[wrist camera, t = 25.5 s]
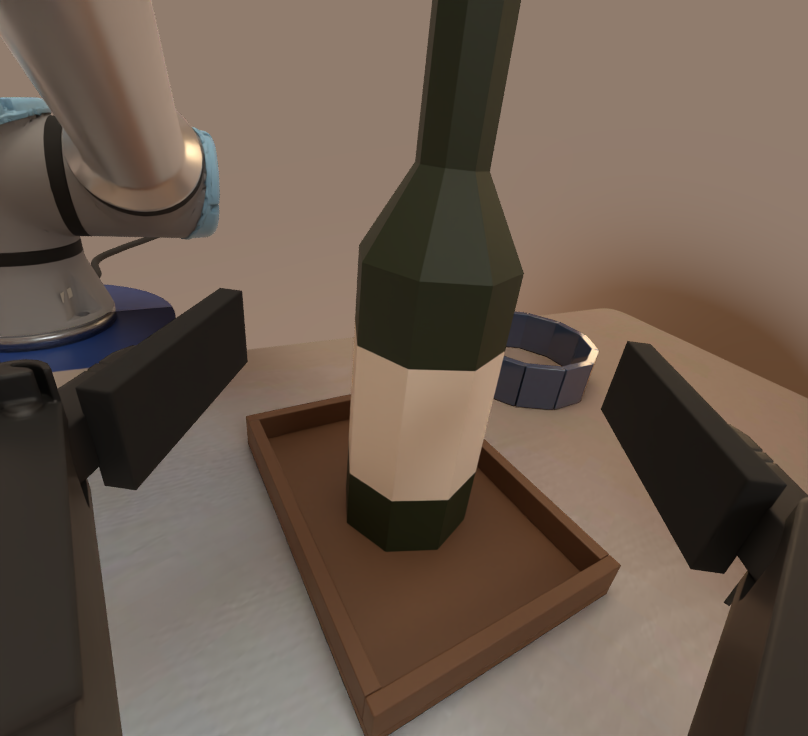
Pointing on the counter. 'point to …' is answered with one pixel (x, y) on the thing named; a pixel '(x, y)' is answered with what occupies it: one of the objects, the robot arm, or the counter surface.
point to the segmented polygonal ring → (545, 381)
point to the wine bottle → (435, 296)
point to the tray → (421, 570)
